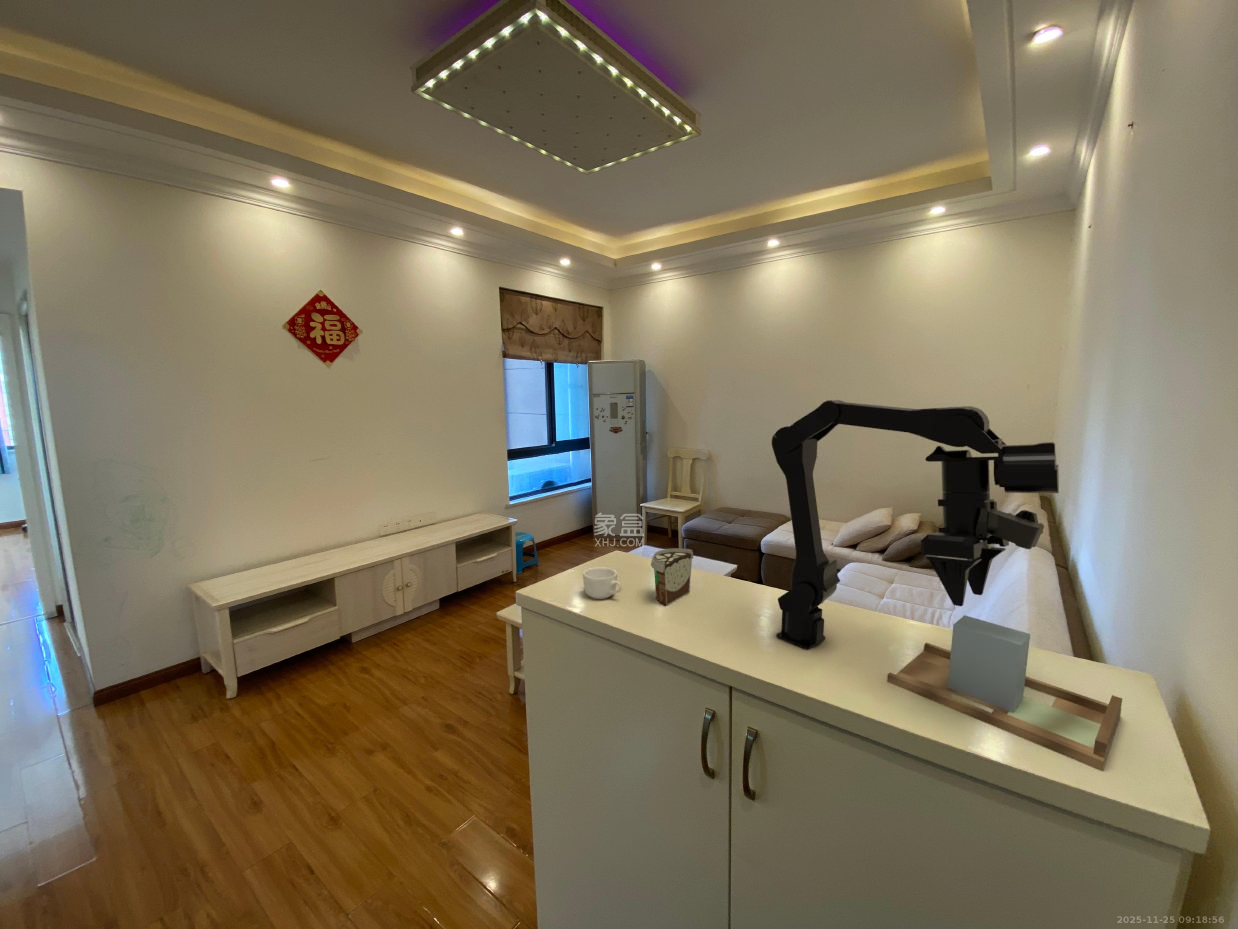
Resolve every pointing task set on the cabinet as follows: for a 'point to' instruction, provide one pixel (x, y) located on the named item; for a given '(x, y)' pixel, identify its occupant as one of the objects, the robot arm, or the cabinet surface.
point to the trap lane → (1023, 710)
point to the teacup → (600, 582)
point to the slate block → (988, 662)
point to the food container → (672, 574)
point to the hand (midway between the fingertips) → (968, 600)
